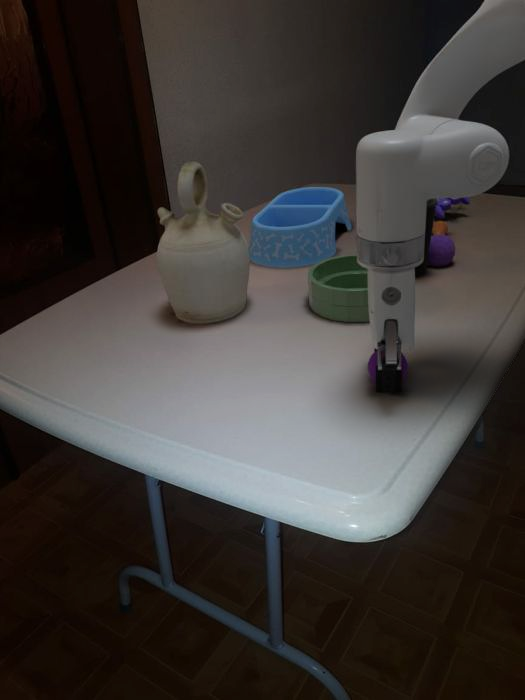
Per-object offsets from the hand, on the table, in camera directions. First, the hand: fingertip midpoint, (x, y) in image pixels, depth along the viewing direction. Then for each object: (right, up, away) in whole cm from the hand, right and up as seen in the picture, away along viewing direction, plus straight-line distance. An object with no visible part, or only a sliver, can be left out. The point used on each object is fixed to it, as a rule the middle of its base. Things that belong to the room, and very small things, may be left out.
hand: (387, 380), depth 72 cm
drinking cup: (+11, +18, +30) cm, 37 cm away
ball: (0, +2, -1) cm, 2 cm away
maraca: (+19, +23, +38) cm, 49 cm away
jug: (-25, +11, +25) cm, 37 cm away
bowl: (0, +12, +21) cm, 24 cm away
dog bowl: (-7, +28, +52) cm, 59 cm away
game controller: (+26, +35, +58) cm, 73 cm away
